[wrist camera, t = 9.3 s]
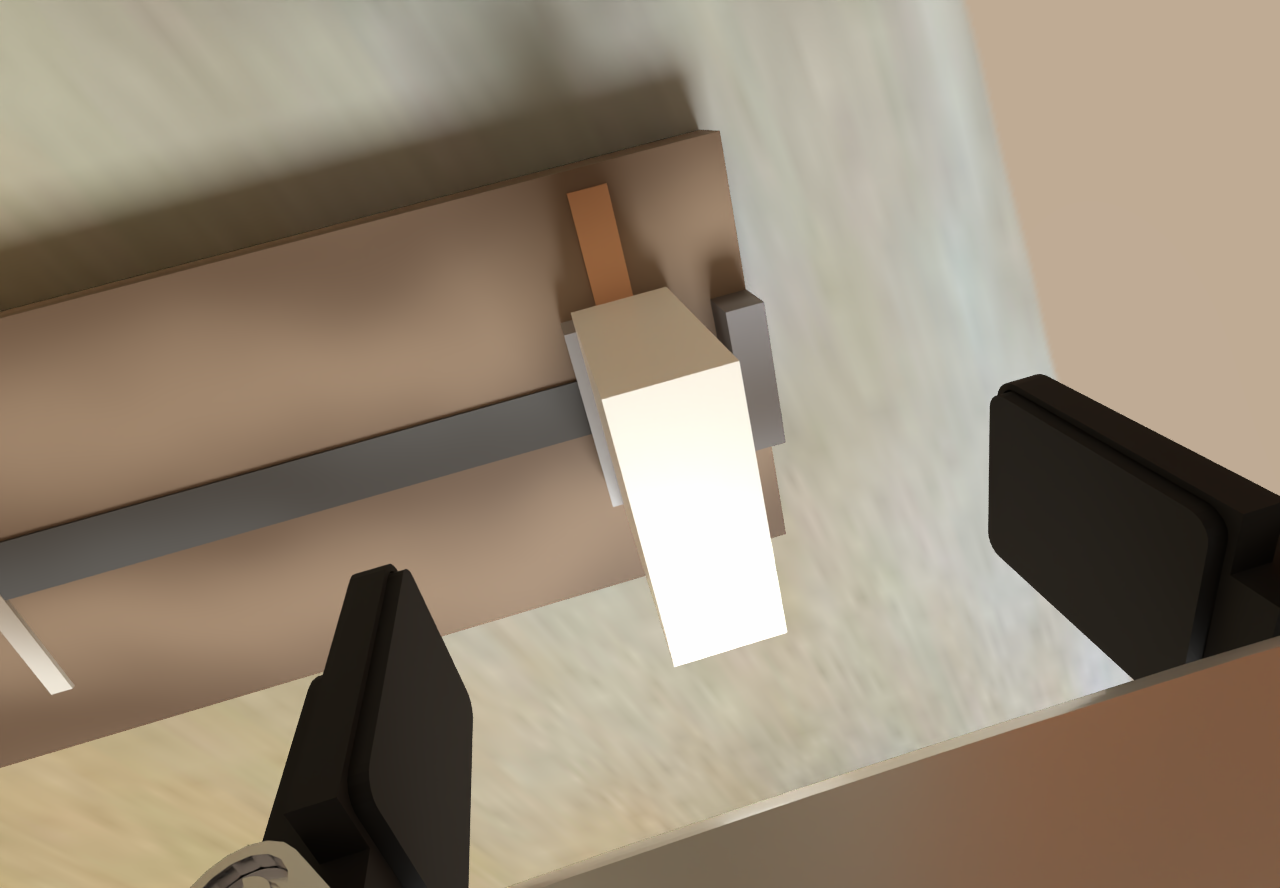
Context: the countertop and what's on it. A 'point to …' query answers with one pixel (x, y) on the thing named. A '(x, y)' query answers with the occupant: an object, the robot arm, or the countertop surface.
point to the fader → (680, 468)
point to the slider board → (335, 435)
